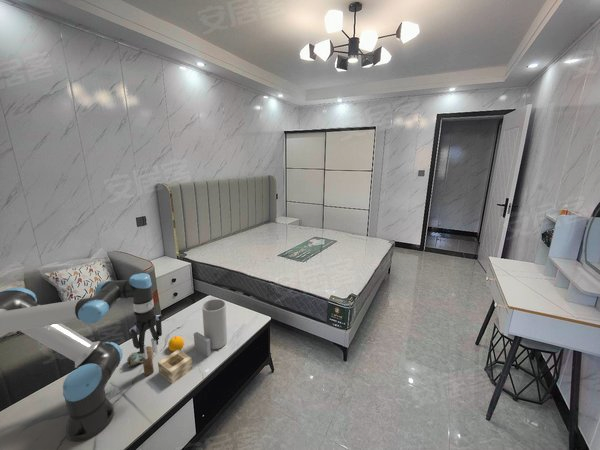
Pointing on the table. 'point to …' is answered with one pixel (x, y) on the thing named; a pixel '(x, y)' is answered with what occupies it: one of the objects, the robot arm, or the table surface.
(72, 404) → the robot arm
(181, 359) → the block
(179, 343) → the orange
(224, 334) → the cylinder vase
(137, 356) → the mineral specimen
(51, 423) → the table surface
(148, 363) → the dowel
